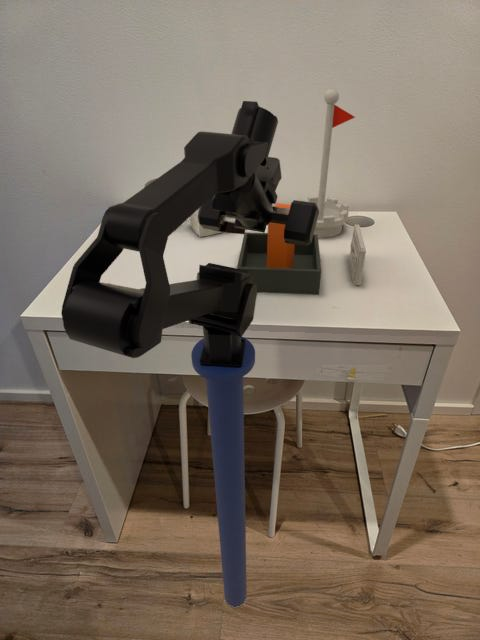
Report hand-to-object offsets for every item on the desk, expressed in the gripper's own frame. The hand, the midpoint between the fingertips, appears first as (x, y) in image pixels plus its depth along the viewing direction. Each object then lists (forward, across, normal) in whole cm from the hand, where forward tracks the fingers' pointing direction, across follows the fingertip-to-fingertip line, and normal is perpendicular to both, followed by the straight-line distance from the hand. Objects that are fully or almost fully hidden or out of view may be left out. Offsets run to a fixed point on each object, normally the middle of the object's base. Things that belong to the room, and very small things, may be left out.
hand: (268, 235), depth 76 cm
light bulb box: (+24, +21, -7) cm, 32 cm away
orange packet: (+13, 0, +2) cm, 13 cm away
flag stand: (+30, -2, -14) cm, 33 cm away
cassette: (+18, -14, -1) cm, 23 cm away
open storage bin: (+13, 0, +3) cm, 14 cm away
